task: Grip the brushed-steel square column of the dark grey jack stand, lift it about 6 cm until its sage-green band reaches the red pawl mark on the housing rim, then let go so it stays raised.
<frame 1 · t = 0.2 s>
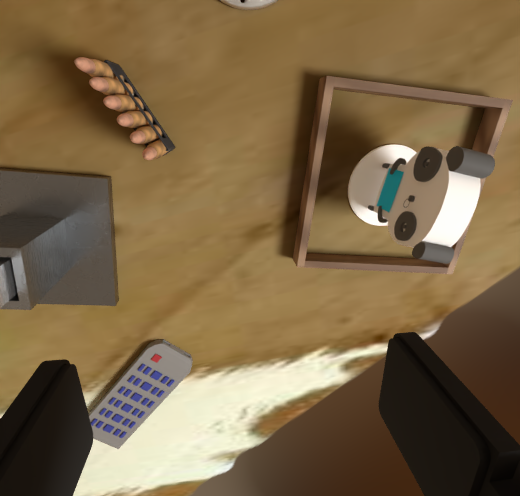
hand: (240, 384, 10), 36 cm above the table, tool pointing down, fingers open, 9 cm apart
panda figurine: (387, 183, 47), resting in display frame
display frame: (387, 184, 47), on the table
remote control: (137, 391, 56), on the table
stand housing: (43, 239, 44), on the table
ammunition clip: (142, 112, 40), on the table
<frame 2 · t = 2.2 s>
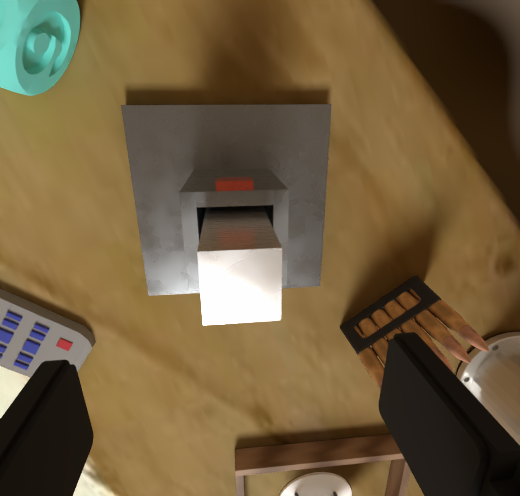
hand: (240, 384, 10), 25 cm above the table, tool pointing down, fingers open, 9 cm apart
column: (235, 234, 24), point 10 cm above the table, slide at 0.0 cm
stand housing: (232, 203, 33), on the table
ammunition clip: (379, 305, 40), on the table
decorative dice: (25, 25, 27), on the table
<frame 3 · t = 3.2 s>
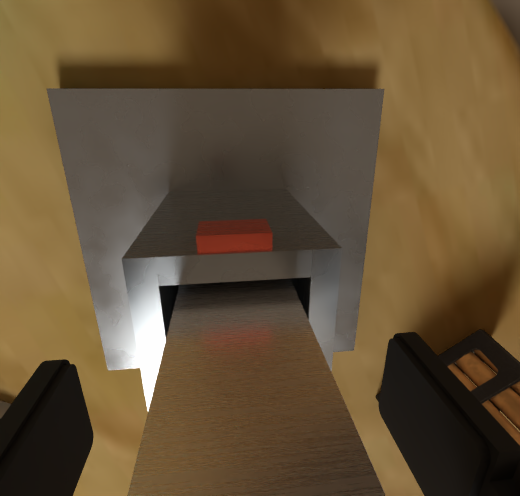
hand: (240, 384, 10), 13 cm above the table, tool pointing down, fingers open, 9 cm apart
column: (236, 318, 13), point 10 cm above the table, slide at 0.0 cm
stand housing: (230, 237, 22), on the table
ammunition clip: (430, 367, 29), on the table
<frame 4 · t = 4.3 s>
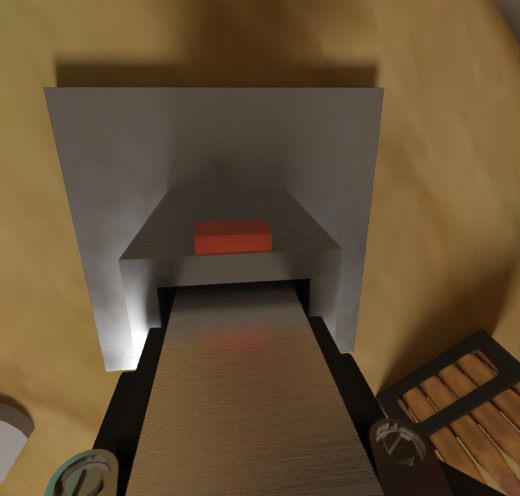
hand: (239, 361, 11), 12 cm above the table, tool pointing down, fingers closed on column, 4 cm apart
column: (235, 319, 13), point 10 cm above the table, slide at 0.0 cm, touching gripper
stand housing: (229, 237, 22), on the table
ammunition clip: (429, 367, 29), on the table
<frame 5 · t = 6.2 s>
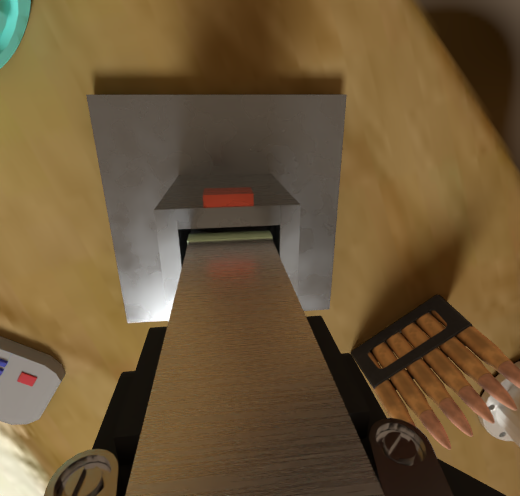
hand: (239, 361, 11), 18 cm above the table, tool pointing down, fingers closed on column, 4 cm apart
column: (235, 319, 13), point 16 cm above the table, slide at 5.9 cm, touching gripper
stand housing: (226, 214, 28), on the table
ammunition clip: (396, 328, 35), on the table
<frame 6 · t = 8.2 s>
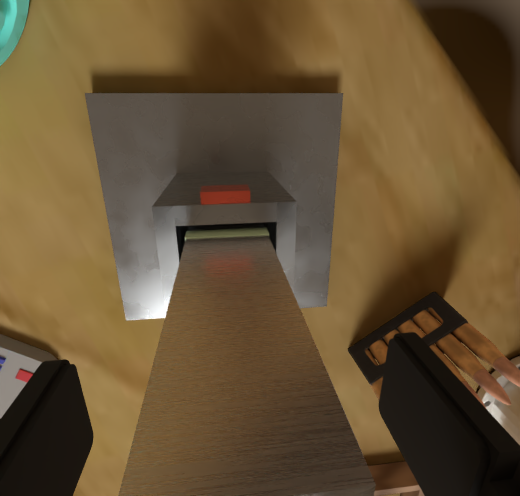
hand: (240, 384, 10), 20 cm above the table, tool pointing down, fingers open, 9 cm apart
column: (232, 314, 13), point 16 cm above the table, slide at 6.0 cm
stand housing: (224, 211, 28), on the table
ammunition clip: (393, 325, 35), on the table
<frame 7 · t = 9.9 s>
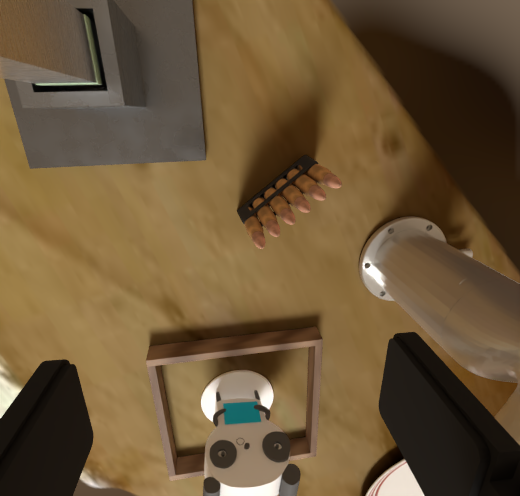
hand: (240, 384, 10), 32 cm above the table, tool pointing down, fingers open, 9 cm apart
column: (32, 38, 19), point 16 cm above the table, slide at 6.0 cm
panda figurine: (239, 397, 53), resting in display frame
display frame: (239, 398, 52), on the table
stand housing: (107, 70, 33), on the table
ammunition clip: (274, 188, 41), on the table
dinner plate: (419, 480, 69), on the table
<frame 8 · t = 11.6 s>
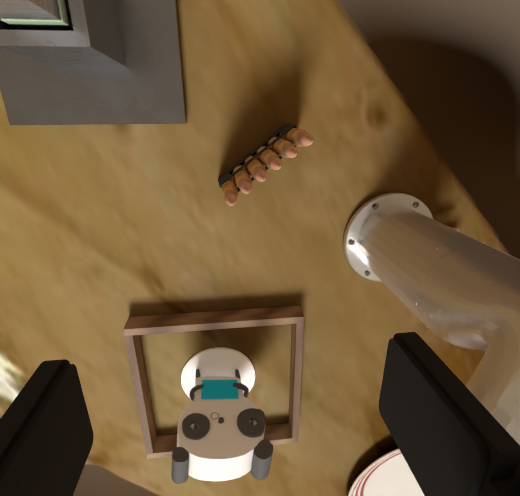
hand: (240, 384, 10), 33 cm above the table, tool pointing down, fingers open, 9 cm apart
panda figurine: (220, 376, 52), resting in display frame
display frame: (220, 377, 52), on the table
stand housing: (88, 29, 34), on the table
ammunition clip: (256, 157, 40), on the table
dinner plate: (408, 477, 67), on the table
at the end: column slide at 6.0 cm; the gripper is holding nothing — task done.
